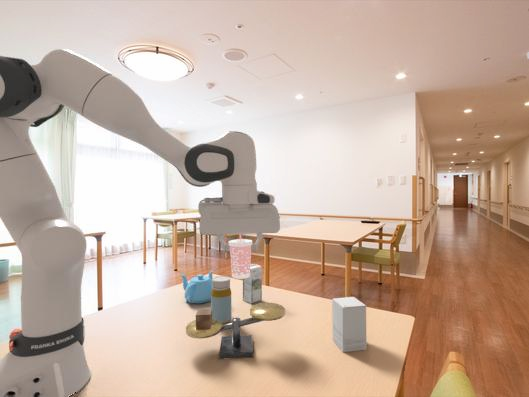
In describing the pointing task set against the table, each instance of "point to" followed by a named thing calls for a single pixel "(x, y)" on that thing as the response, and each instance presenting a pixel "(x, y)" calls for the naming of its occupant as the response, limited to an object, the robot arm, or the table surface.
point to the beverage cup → (240, 257)
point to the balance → (237, 330)
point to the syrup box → (253, 285)
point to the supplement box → (349, 324)
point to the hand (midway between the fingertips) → (240, 251)
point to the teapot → (198, 288)
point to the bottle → (221, 299)
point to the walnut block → (203, 319)
